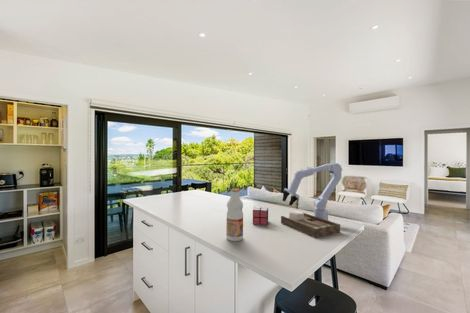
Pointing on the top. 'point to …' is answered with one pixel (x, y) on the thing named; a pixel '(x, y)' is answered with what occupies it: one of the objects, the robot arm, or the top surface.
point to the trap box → (312, 225)
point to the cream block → (296, 215)
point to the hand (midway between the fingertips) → (286, 203)
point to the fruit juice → (234, 217)
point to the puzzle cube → (260, 215)
